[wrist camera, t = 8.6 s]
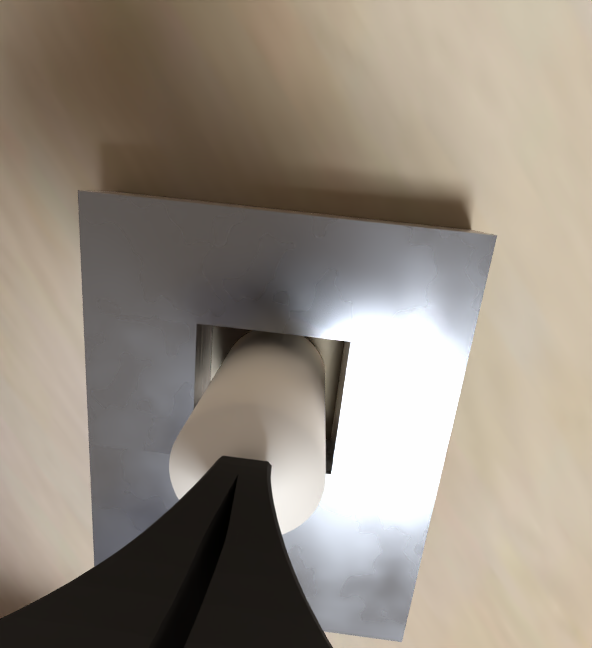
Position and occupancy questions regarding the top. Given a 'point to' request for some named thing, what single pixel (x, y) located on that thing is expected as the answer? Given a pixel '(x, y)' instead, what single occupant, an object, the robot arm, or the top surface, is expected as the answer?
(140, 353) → the plate
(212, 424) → the white rounded cylinder
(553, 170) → the top surface
